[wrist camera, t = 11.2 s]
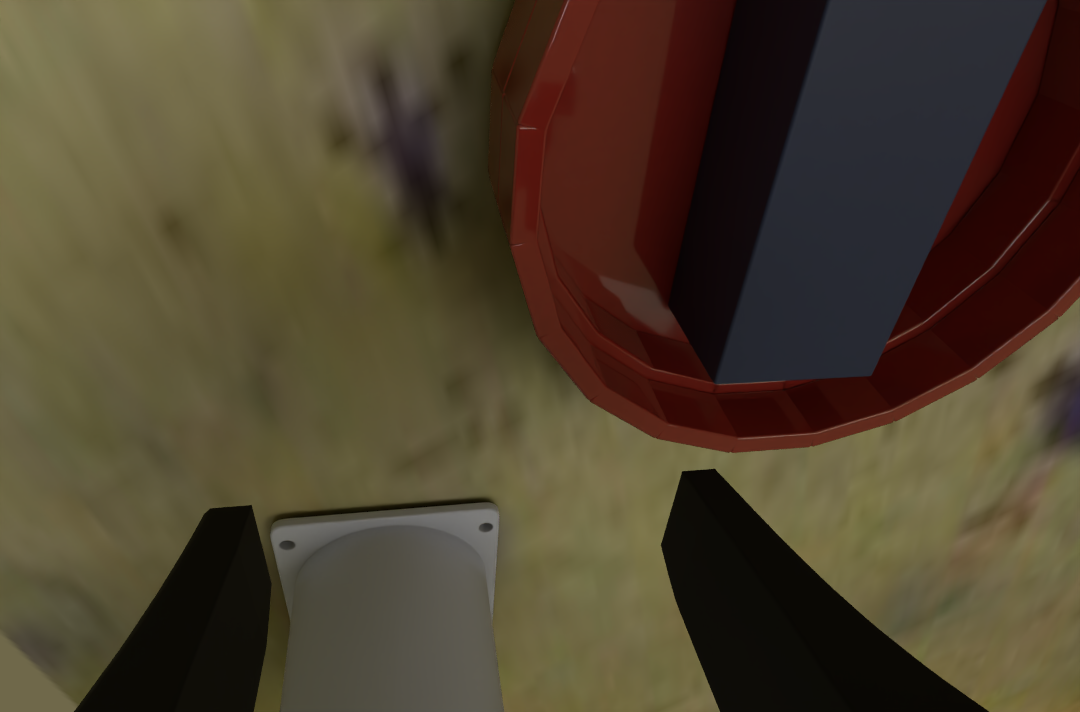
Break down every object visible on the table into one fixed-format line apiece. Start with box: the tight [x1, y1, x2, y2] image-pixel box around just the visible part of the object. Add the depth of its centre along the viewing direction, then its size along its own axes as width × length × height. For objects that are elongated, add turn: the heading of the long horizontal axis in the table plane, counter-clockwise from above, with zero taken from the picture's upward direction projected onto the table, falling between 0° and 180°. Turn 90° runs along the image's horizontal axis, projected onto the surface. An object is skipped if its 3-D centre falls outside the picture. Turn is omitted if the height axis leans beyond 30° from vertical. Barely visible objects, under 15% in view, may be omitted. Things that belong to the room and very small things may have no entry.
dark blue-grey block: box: [668, 0, 1047, 384], centre depth 16 cm, size 11×5×4 cm, turn 175°
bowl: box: [488, 0, 1080, 453], centre depth 17 cm, size 16×16×4 cm
